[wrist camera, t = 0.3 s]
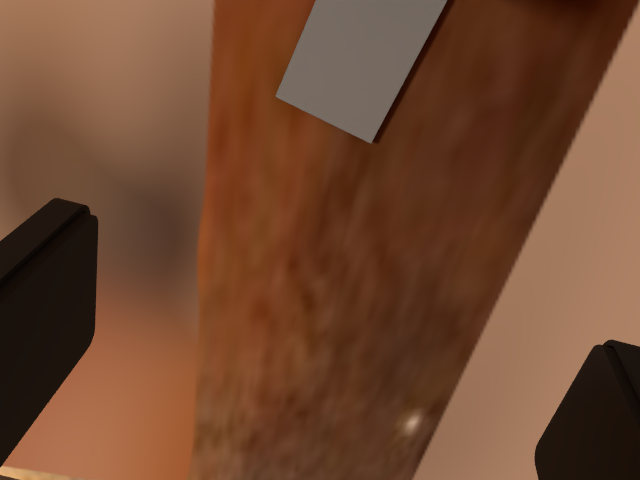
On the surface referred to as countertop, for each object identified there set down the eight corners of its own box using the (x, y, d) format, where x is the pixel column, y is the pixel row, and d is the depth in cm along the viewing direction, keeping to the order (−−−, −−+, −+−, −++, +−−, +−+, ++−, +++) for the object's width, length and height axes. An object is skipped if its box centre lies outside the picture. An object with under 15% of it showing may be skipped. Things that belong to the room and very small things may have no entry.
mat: (341, -59, 35) (340, -59, 34) (448, -3, 35) (448, -2, 35) (276, 95, 40) (275, 96, 39) (371, 141, 40) (370, 143, 40)
